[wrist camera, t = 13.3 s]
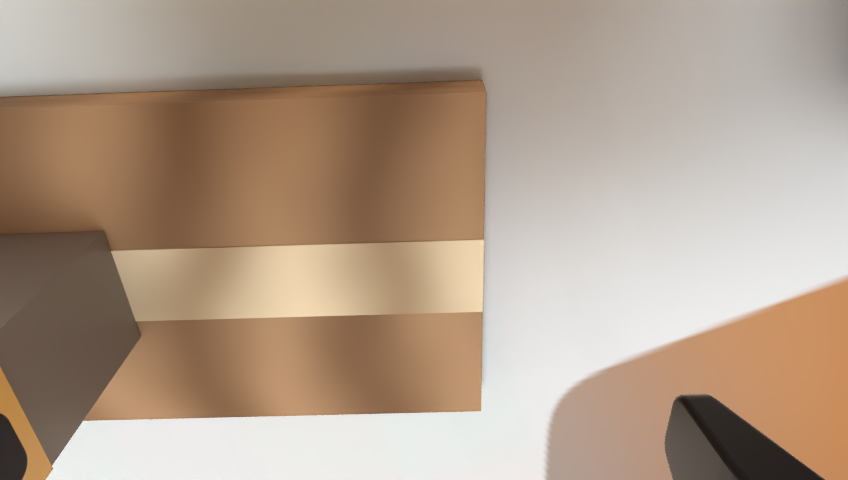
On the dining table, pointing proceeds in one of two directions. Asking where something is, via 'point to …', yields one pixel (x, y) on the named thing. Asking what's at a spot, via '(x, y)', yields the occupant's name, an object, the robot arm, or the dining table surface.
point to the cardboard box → (272, 240)
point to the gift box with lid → (58, 336)
